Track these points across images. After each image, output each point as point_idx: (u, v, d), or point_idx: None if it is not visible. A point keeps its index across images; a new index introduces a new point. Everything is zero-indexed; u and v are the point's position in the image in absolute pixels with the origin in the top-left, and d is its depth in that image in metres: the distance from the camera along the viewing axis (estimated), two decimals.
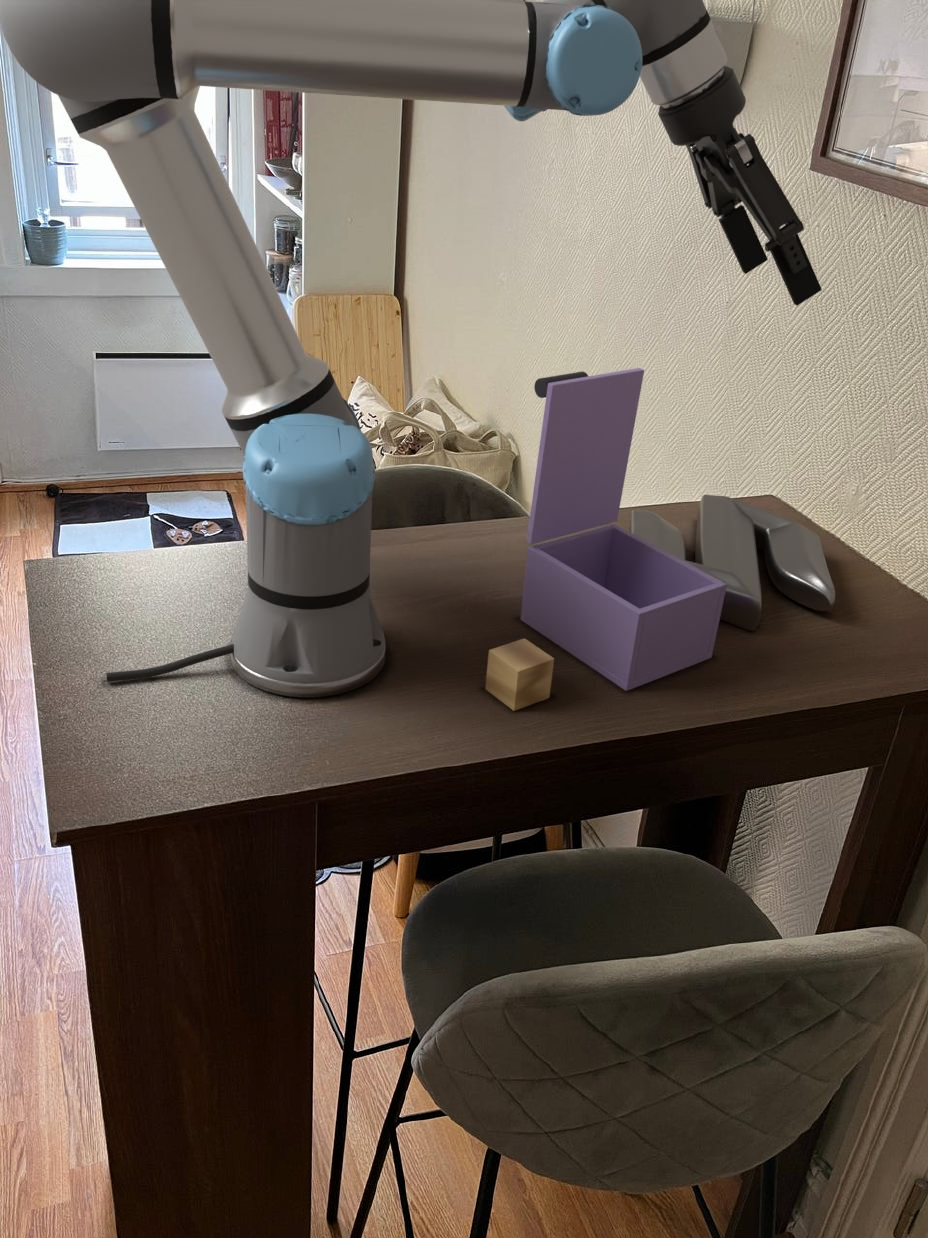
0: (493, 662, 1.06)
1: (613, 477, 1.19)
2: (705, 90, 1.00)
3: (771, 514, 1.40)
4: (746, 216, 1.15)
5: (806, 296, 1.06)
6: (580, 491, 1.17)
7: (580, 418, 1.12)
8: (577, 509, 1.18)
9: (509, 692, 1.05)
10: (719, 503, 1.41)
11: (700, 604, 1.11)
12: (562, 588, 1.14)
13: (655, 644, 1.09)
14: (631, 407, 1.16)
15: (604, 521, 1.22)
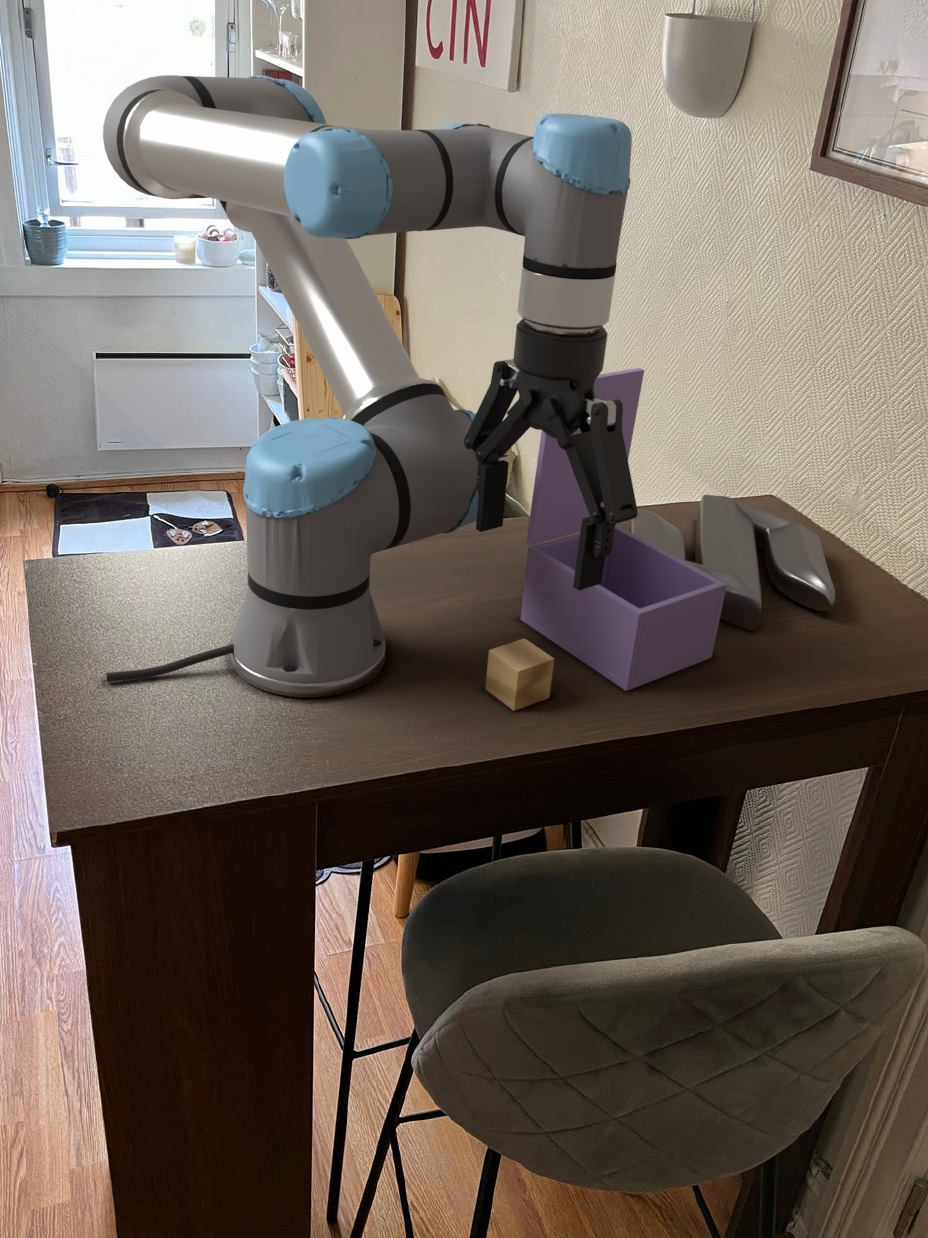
0: (493, 662, 1.06)
1: None
2: (590, 335, 0.89)
3: (771, 514, 1.40)
4: (506, 474, 1.03)
5: (588, 584, 0.96)
6: (580, 491, 1.17)
7: None
8: (577, 509, 1.18)
9: (509, 692, 1.05)
10: (719, 503, 1.41)
11: (700, 604, 1.11)
12: (562, 588, 1.14)
13: (655, 644, 1.09)
14: (631, 407, 1.16)
15: None
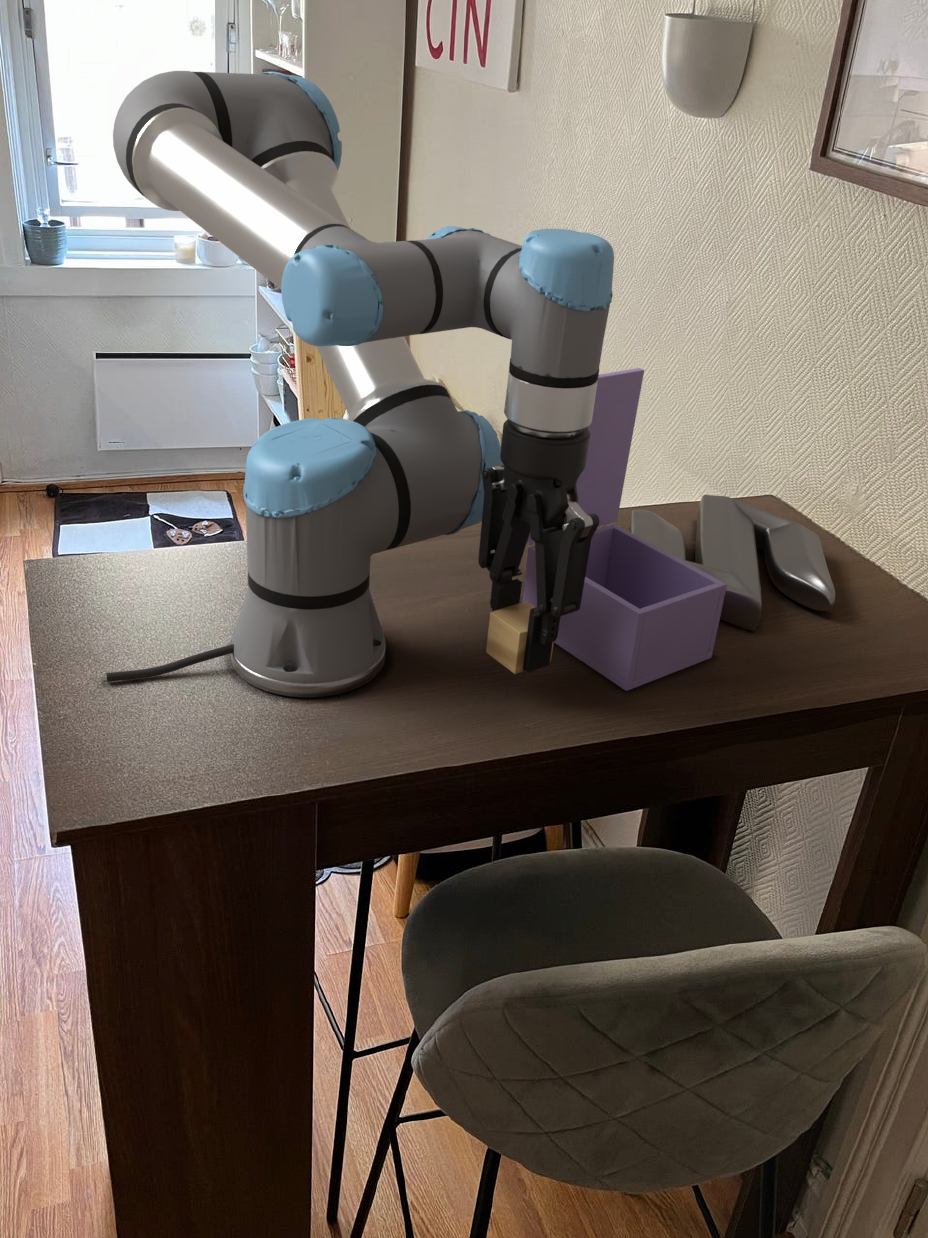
0: (494, 624, 1.04)
1: (613, 477, 1.19)
2: (572, 438, 0.93)
3: (771, 514, 1.40)
4: (519, 593, 1.06)
5: (537, 667, 1.04)
6: (580, 491, 1.17)
7: None
8: None
9: (510, 655, 1.03)
10: (719, 503, 1.41)
11: (700, 604, 1.11)
12: None
13: (655, 644, 1.09)
14: (631, 407, 1.16)
15: (604, 521, 1.22)
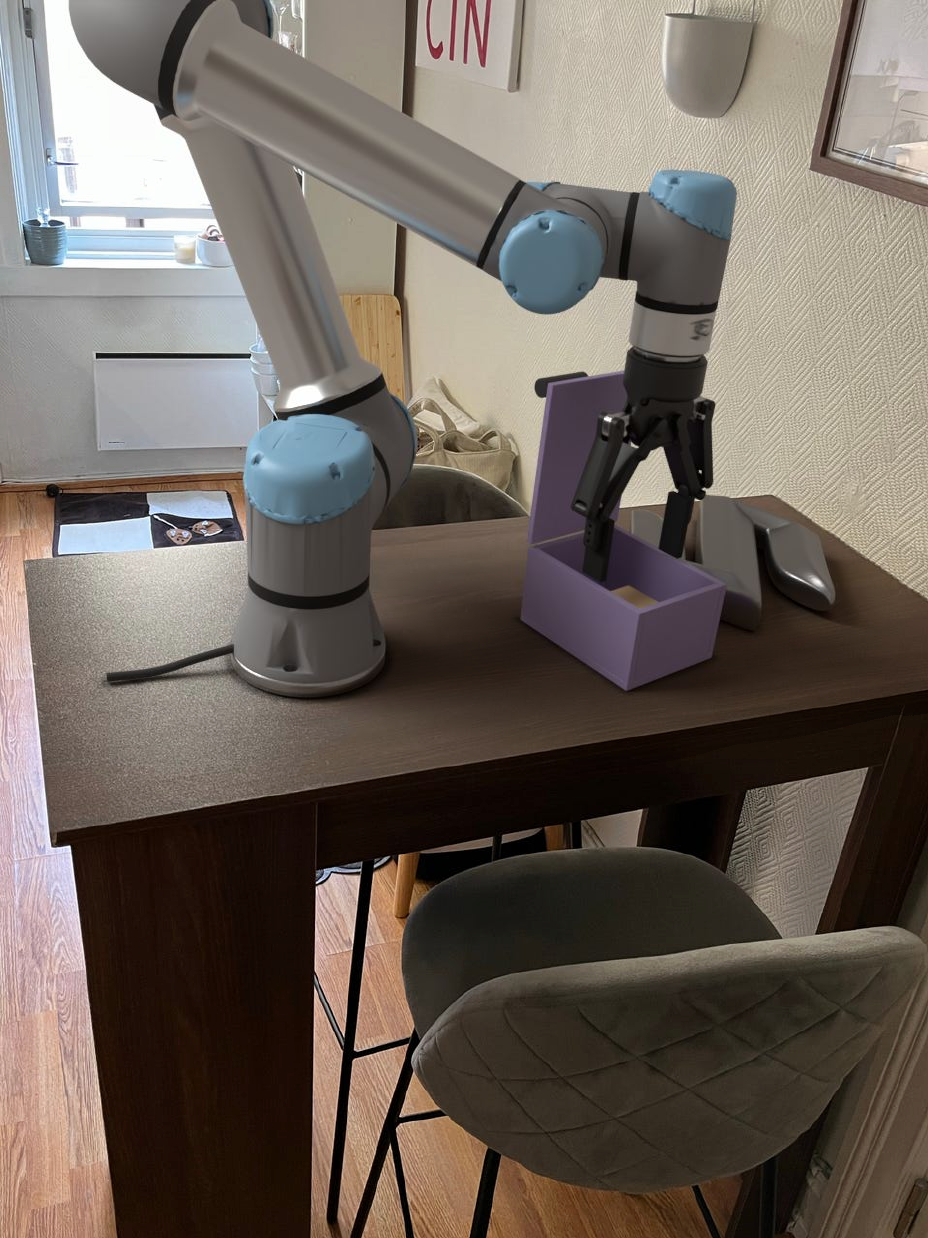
0: None
1: None
2: (643, 357, 1.01)
3: (771, 514, 1.40)
4: (684, 510, 1.13)
5: (590, 573, 1.10)
6: None
7: (580, 418, 1.12)
8: None
9: None
10: (719, 503, 1.41)
11: (700, 604, 1.11)
12: (562, 588, 1.14)
13: (655, 644, 1.09)
14: None
15: None
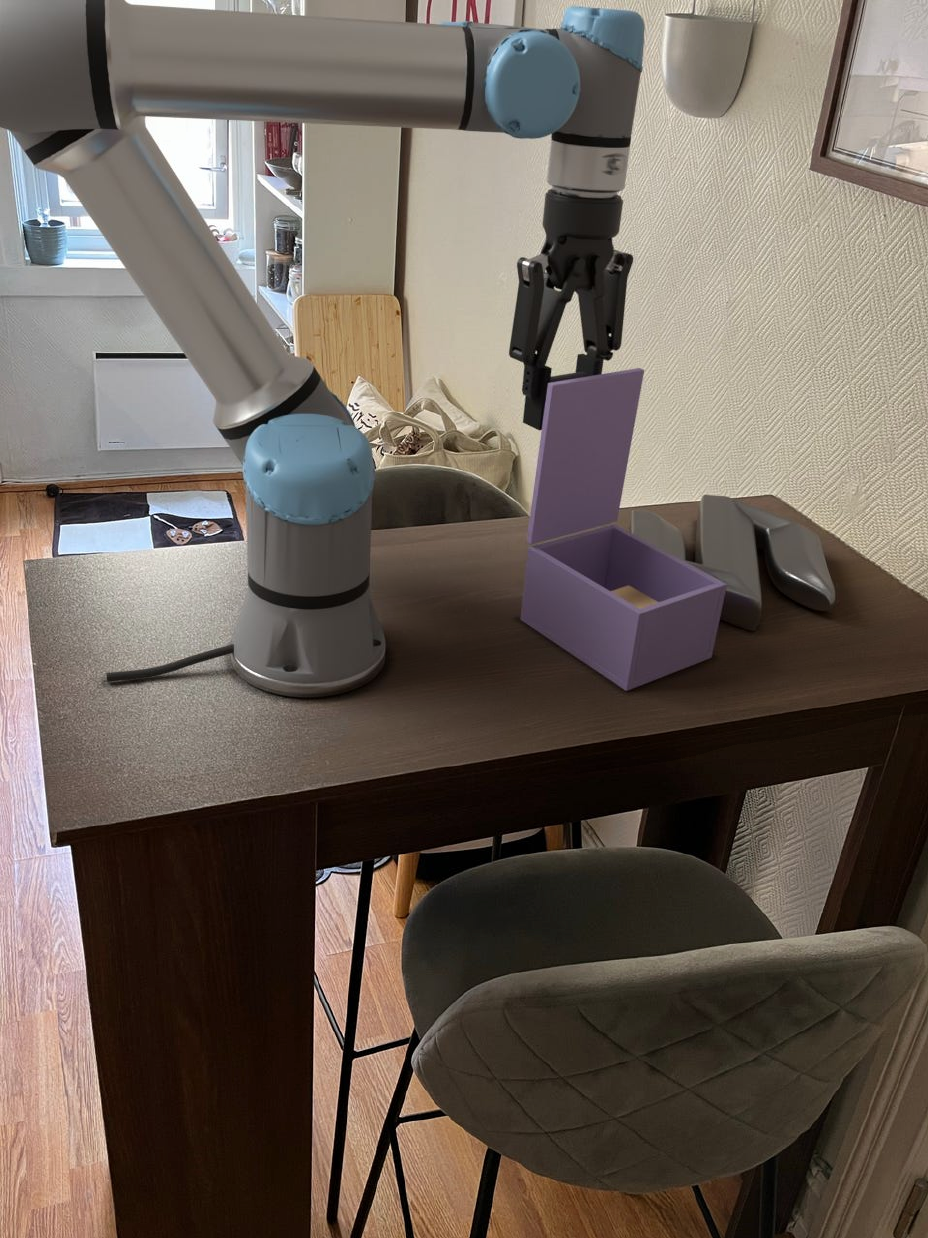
0: None
1: (613, 477, 1.19)
2: (559, 194, 1.05)
3: (771, 514, 1.40)
4: (592, 371, 1.16)
5: (529, 423, 1.16)
6: (580, 491, 1.17)
7: (580, 418, 1.12)
8: (577, 509, 1.18)
9: None
10: (719, 503, 1.41)
11: (700, 604, 1.11)
12: (562, 588, 1.14)
13: (655, 644, 1.09)
14: (631, 407, 1.16)
15: (604, 521, 1.22)
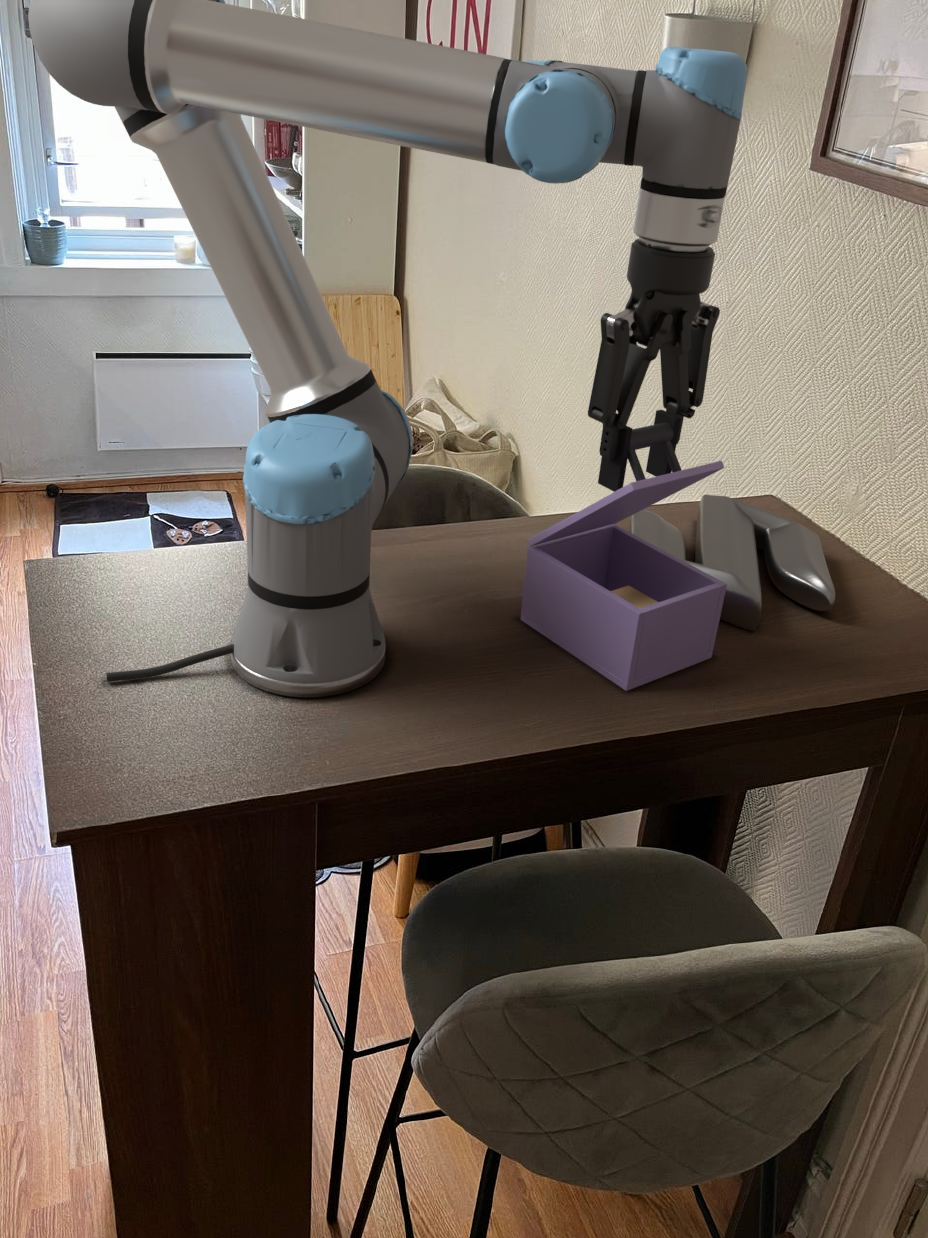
0: None
1: (636, 510, 1.18)
2: (648, 247, 0.98)
3: (771, 514, 1.40)
4: None
5: (605, 484, 1.09)
6: (600, 520, 1.16)
7: (640, 496, 1.08)
8: (587, 527, 1.17)
9: None
10: (719, 503, 1.41)
11: (700, 604, 1.11)
12: (562, 588, 1.14)
13: (655, 644, 1.09)
14: (691, 483, 1.12)
15: (604, 525, 1.22)
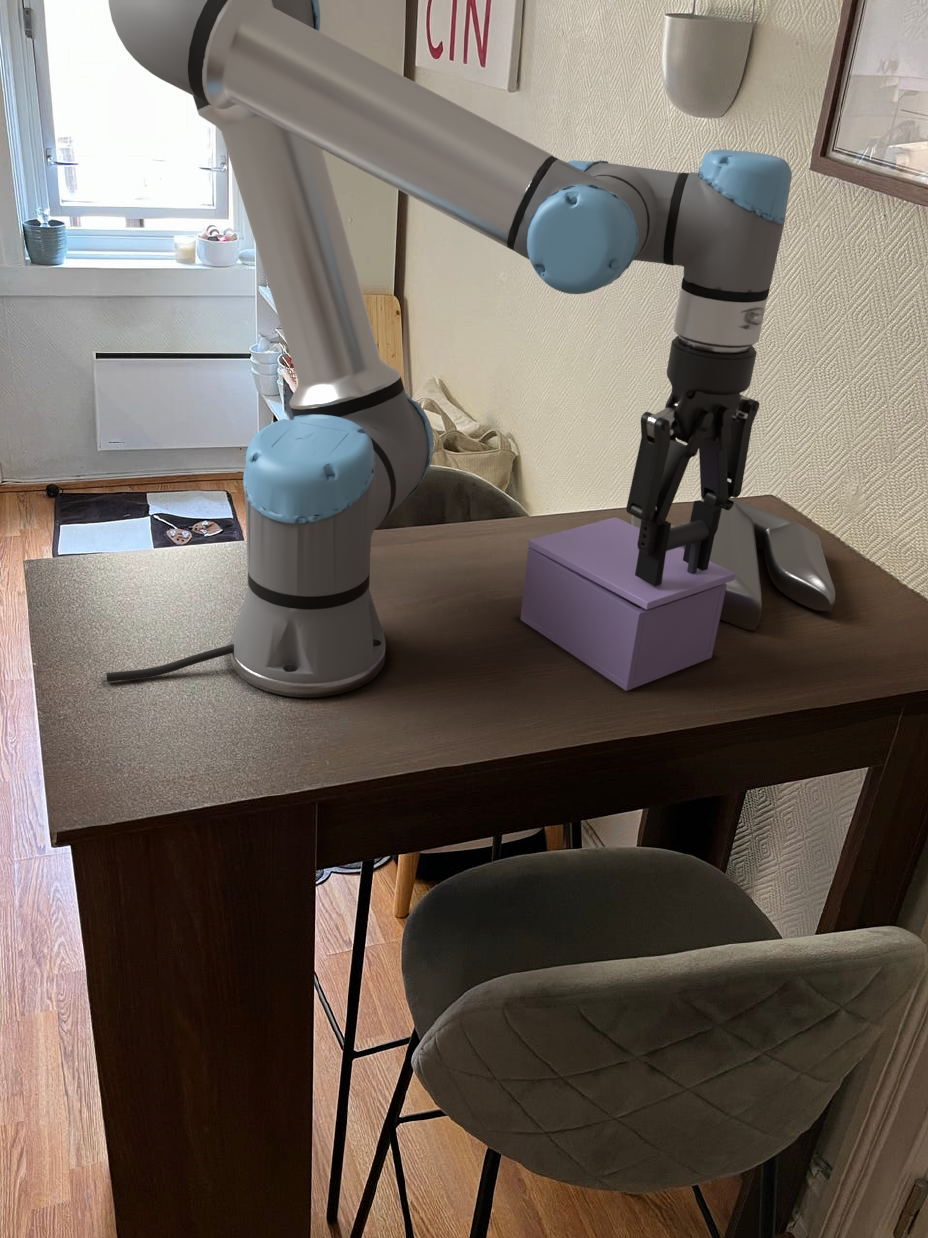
0: None
1: None
2: (690, 347, 0.97)
3: (771, 514, 1.40)
4: (710, 521, 1.08)
5: (643, 577, 1.07)
6: None
7: None
8: None
9: None
10: None
11: (700, 604, 1.11)
12: (562, 588, 1.14)
13: (655, 644, 1.09)
14: None
15: None
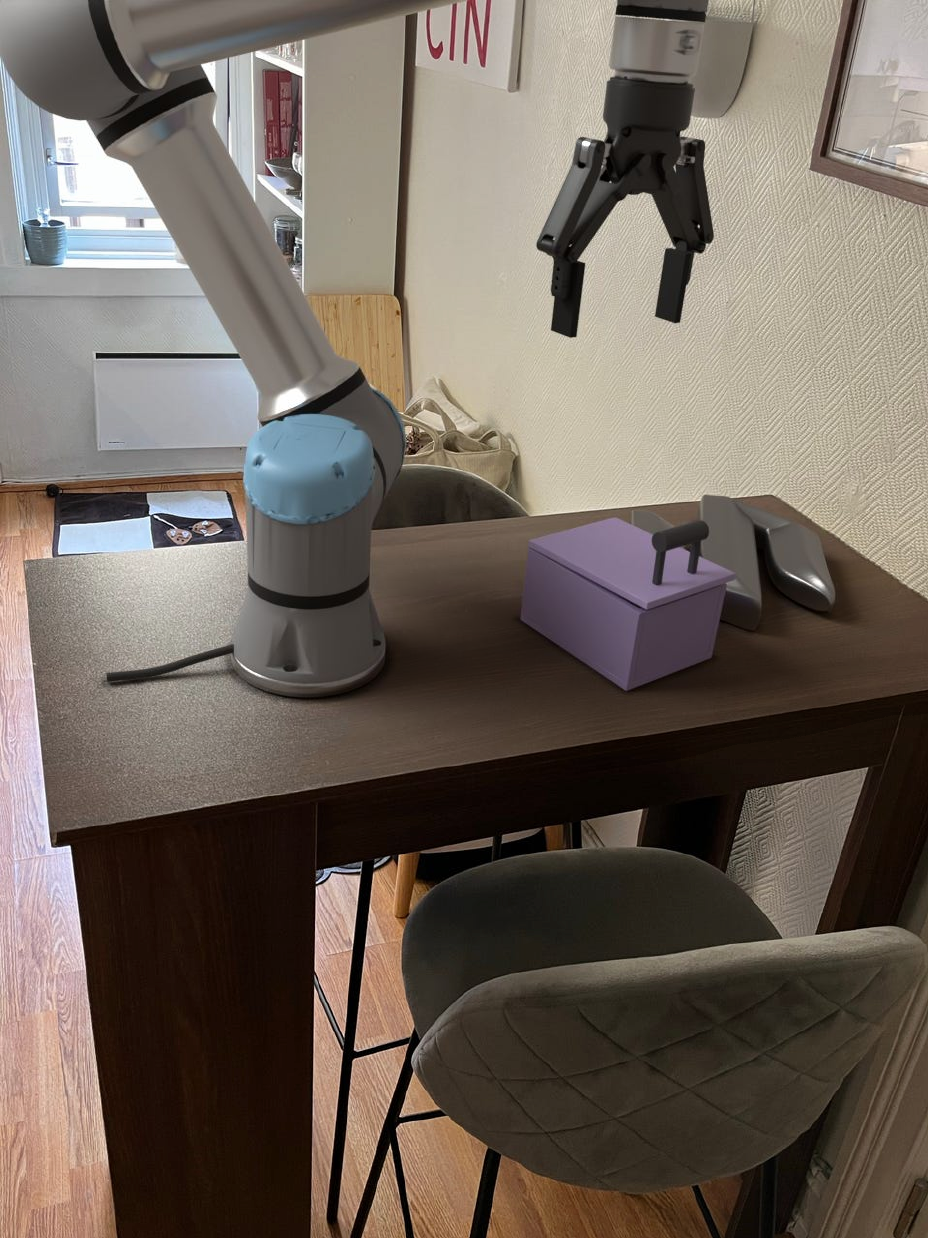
0: None
1: None
2: (624, 79, 0.93)
3: (771, 514, 1.40)
4: (682, 265, 1.05)
5: (559, 330, 1.01)
6: None
7: None
8: None
9: None
10: (719, 503, 1.41)
11: (700, 604, 1.11)
12: (562, 588, 1.14)
13: (655, 644, 1.09)
14: None
15: None
